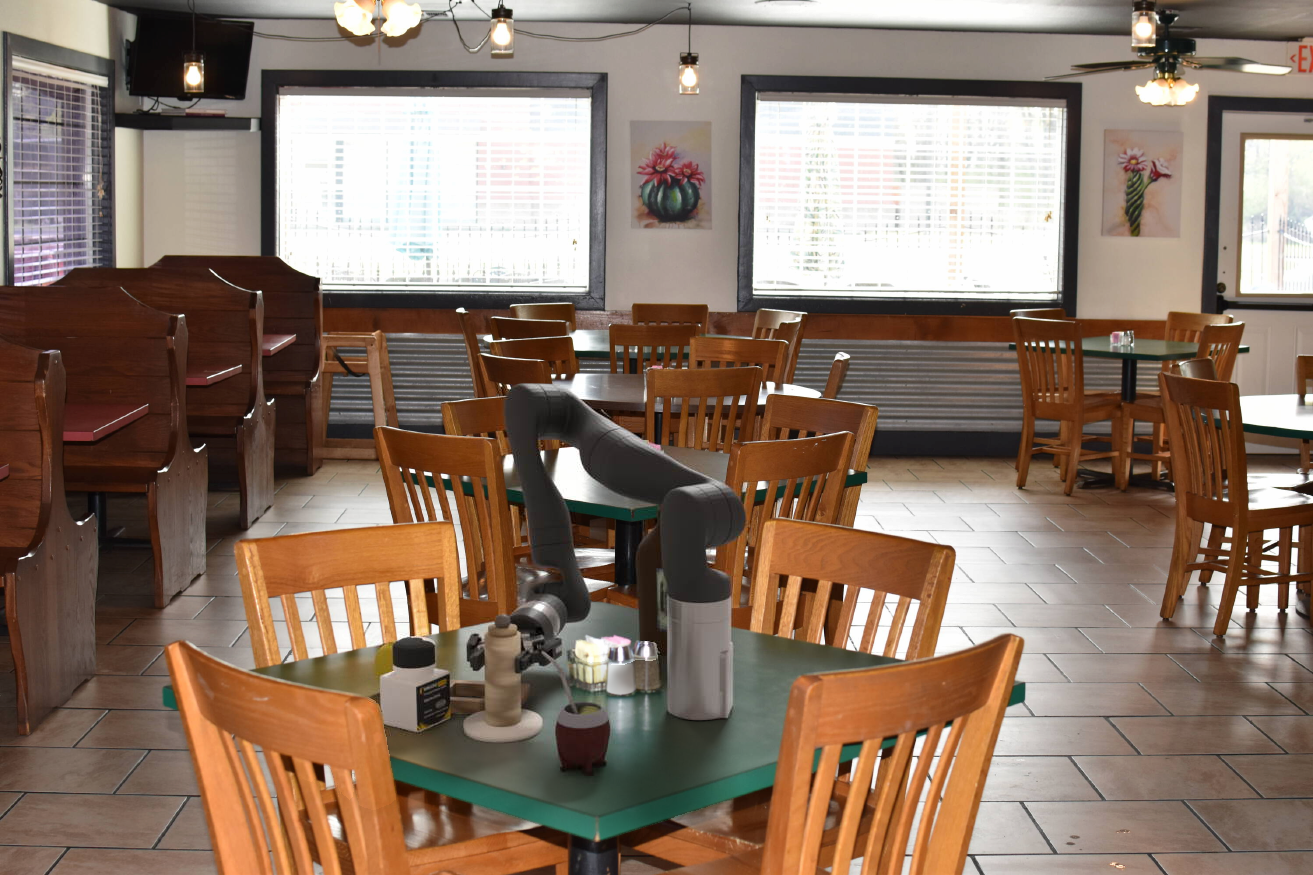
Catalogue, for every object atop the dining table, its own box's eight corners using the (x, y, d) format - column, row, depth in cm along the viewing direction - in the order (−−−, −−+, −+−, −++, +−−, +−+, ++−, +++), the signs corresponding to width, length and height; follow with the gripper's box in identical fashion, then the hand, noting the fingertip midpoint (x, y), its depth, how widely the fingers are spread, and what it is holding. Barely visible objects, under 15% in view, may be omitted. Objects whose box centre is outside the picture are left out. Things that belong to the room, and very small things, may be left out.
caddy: (529, 696, 199) (529, 683, 198) (512, 717, 190) (512, 703, 190) (446, 691, 201) (446, 678, 201) (426, 711, 192) (425, 698, 192)
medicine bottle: (418, 733, 184) (415, 650, 182) (380, 724, 187) (377, 642, 186) (452, 718, 190) (449, 637, 188) (414, 709, 193) (412, 629, 192)
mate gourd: (617, 773, 169) (616, 660, 167) (558, 782, 167) (556, 667, 165) (599, 753, 176) (598, 644, 174) (542, 761, 173) (540, 650, 171)
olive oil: (626, 642, 226) (625, 498, 223) (683, 635, 231) (683, 493, 227) (650, 659, 217) (650, 509, 213) (709, 651, 221) (709, 504, 217)
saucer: (551, 716, 190) (551, 710, 190) (530, 744, 179) (529, 737, 179) (477, 712, 192) (477, 705, 192) (452, 739, 181) (452, 732, 181)
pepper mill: (525, 716, 188) (524, 610, 186) (515, 727, 183) (514, 619, 181) (491, 713, 188) (490, 608, 187) (480, 725, 184) (479, 617, 182)
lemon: (403, 699, 198) (402, 647, 197) (368, 696, 199) (367, 645, 198) (417, 687, 203) (416, 636, 202) (383, 685, 204) (382, 634, 203)
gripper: (483, 604, 199) (445, 636, 182) (576, 608, 196) (546, 641, 180) (484, 652, 200) (446, 688, 184) (576, 657, 197) (547, 694, 181)
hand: (496, 665), depth 182 cm, fingers open, 5 cm apart
